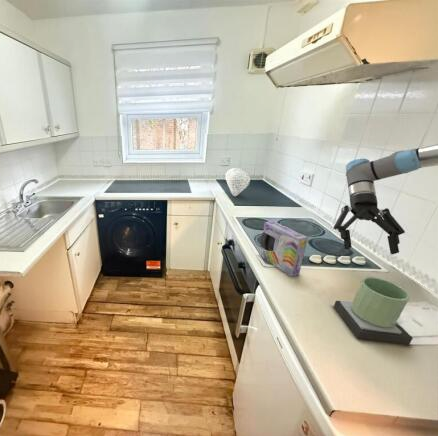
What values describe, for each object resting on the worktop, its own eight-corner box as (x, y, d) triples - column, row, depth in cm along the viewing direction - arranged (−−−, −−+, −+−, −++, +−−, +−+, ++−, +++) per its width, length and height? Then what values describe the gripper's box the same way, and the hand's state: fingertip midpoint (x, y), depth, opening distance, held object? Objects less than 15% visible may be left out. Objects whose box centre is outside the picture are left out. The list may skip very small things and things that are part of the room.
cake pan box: (256, 254, 113) (263, 220, 106) (265, 252, 114) (272, 219, 108) (290, 277, 96) (300, 239, 89) (299, 275, 98) (310, 237, 91)
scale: (376, 312, 79) (380, 303, 78) (408, 345, 67) (414, 336, 66) (333, 307, 81) (336, 298, 80) (357, 339, 69) (361, 329, 68)
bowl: (389, 311, 74) (403, 284, 70) (399, 334, 66) (415, 305, 62) (348, 299, 79) (359, 273, 75) (352, 319, 71) (365, 291, 67)
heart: (221, 191, 212) (224, 166, 203) (239, 191, 210) (243, 166, 202) (228, 201, 186) (232, 173, 177) (249, 201, 185) (254, 173, 176)
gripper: (395, 203, 90) (406, 258, 83) (320, 198, 96) (324, 248, 89) (411, 194, 83) (425, 252, 76) (329, 189, 90) (335, 242, 82)
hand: (371, 250), depth 82 cm, fingers open, 13 cm apart
